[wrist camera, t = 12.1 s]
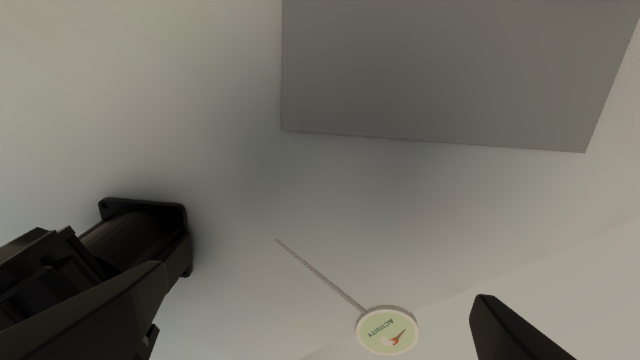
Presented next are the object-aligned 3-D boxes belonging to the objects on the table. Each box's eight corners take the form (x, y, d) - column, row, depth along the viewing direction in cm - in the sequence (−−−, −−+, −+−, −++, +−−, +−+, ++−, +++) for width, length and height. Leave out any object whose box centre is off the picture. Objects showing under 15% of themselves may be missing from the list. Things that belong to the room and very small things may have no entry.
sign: (297, 220, 23) (432, 335, 26) (299, 214, 24) (429, 327, 26) (254, 260, 25) (385, 364, 27) (257, 254, 25) (384, 355, 28)
